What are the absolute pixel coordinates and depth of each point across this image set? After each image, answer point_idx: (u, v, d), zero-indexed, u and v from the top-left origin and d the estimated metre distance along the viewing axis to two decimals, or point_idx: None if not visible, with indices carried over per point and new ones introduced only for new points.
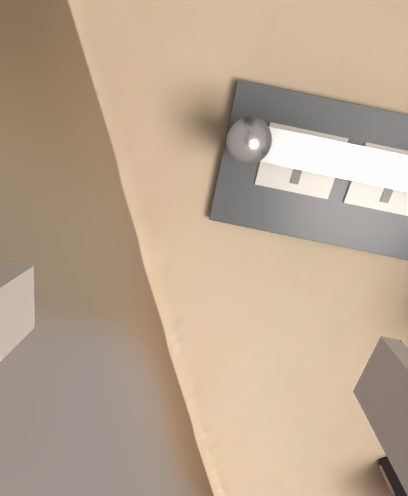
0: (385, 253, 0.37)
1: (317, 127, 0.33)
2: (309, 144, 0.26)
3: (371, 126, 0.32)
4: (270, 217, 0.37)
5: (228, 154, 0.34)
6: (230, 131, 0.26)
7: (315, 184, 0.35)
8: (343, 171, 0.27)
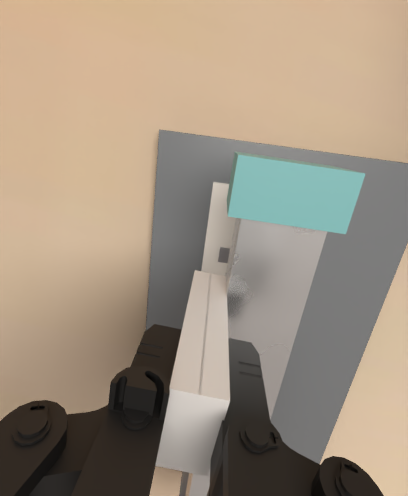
0: (406, 232, 0.18)
1: None
2: None
3: (173, 305, 0.21)
4: (315, 412, 0.23)
5: None
6: None
7: None
8: None
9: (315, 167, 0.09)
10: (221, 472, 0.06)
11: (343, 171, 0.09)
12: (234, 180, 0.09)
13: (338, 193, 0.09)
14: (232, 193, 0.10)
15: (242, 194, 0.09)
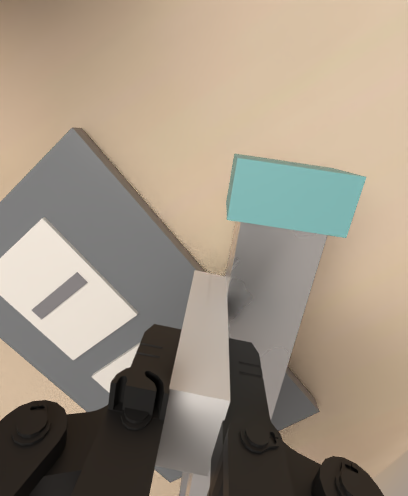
0: (116, 184, 0.18)
1: None
2: None
3: (61, 367, 0.23)
4: None
5: None
6: None
7: None
8: None
9: (315, 170, 0.09)
10: (221, 472, 0.06)
11: (343, 174, 0.09)
12: (233, 183, 0.09)
13: (338, 196, 0.09)
14: (231, 196, 0.09)
15: (241, 197, 0.09)
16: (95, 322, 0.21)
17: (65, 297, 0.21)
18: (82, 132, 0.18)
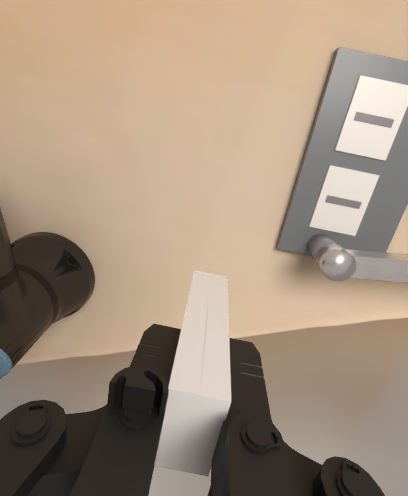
0: None
1: (317, 190, 0.42)
2: (383, 264, 0.36)
3: (322, 147, 0.40)
4: (386, 221, 0.42)
5: None
6: (326, 262, 0.36)
7: (364, 187, 0.41)
8: None
9: None
10: (222, 472, 0.06)
11: None
12: None
13: None
14: None
15: None
16: (368, 145, 0.39)
17: (375, 123, 0.38)
18: None
